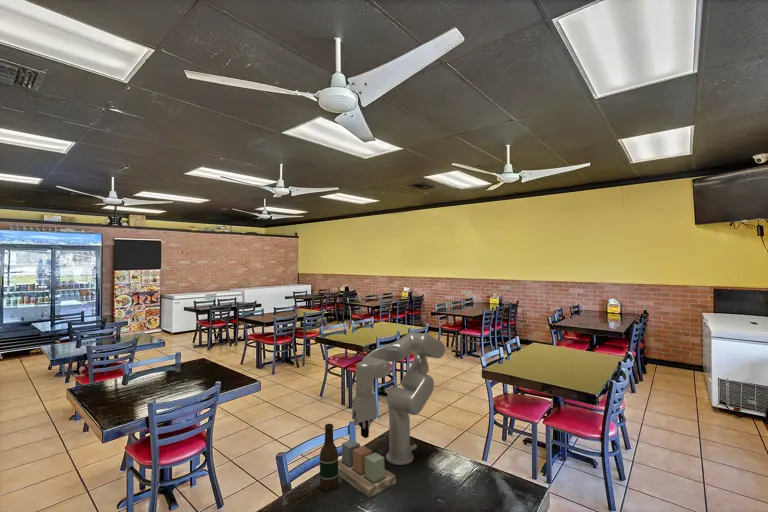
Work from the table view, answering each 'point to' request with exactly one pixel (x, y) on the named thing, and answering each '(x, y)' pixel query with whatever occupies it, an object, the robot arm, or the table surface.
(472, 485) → the table surface
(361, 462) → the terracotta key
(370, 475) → the sage key
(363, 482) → the birch board
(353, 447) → the slate key
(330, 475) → the beer bottle
